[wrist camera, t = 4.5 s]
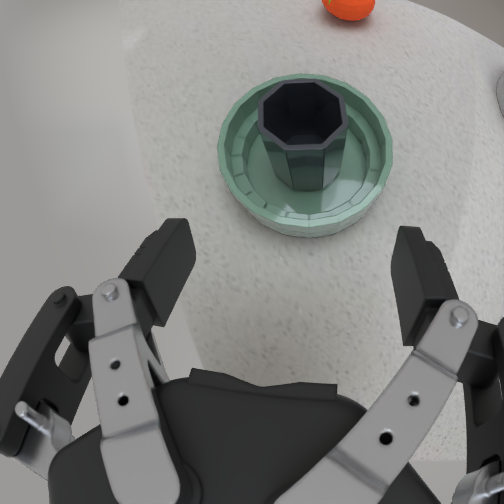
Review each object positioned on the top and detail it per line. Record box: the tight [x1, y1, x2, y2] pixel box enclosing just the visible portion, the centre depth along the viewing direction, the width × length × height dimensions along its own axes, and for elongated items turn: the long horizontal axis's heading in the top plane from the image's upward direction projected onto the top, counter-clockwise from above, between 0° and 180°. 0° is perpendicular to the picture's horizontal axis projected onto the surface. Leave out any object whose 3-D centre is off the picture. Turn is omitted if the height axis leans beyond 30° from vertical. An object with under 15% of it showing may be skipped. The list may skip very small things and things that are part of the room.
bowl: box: [217, 74, 393, 238], centre depth 25 cm, size 14×14×5 cm
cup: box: [258, 78, 348, 192], centre depth 22 cm, size 6×6×8 cm
